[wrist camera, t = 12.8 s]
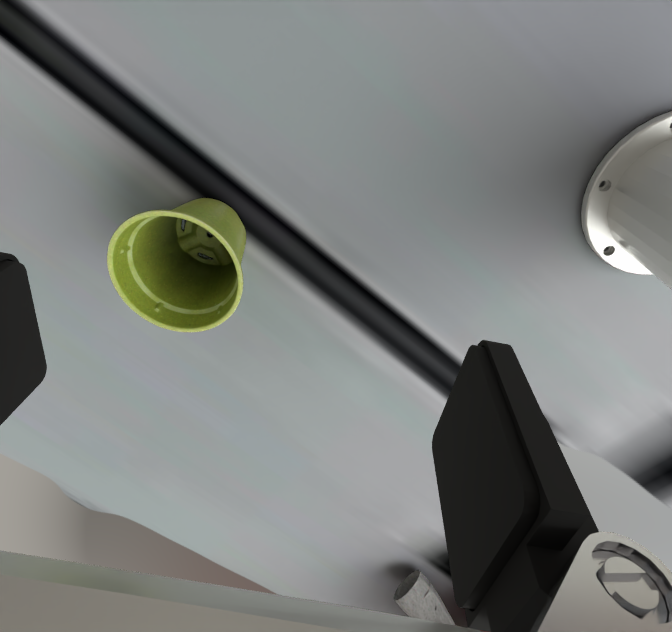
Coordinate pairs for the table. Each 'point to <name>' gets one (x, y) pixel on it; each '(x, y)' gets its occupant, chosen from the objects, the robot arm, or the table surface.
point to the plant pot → (180, 265)
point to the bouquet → (421, 600)
